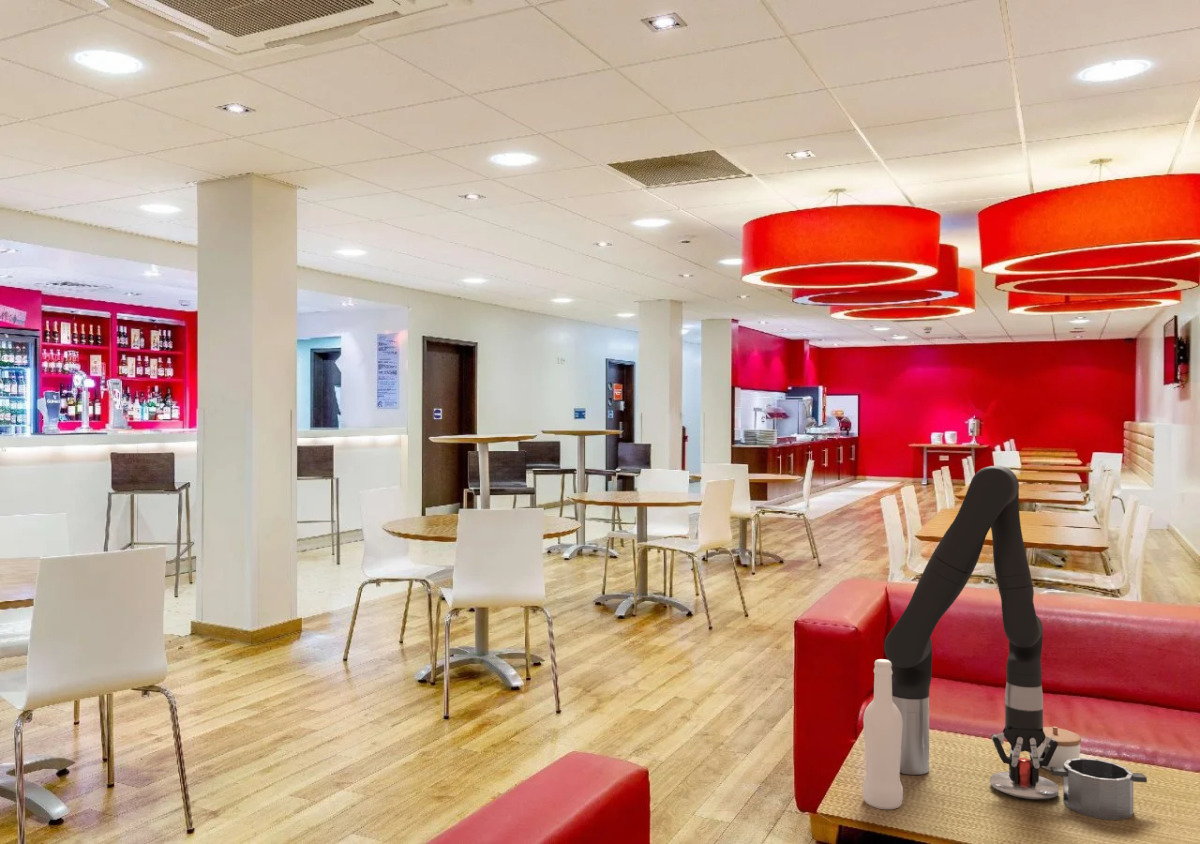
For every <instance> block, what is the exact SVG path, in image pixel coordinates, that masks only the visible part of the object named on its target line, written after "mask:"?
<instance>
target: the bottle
mask: <svg viewBox="0 0 1200 844" xmlns="http://www.w3.org/2000/svg"><path fill="white" fill-rule="evenodd" d="M873 664H874V668H873V673H874V675H873V677H874V679H873V680H874V681H873V698H872V700H871V702H870V703H869V704H868V705H867V706H866V708H865V710H864V713H863V717H862V719H863V722H862V723H863V734H864V735H863V736H864V737H863V739H864V752H865V754H864V756H865V777H864V780H863V783H862V797H863V800H864V802H865V803H866V804H867V805H869V806H870V807H872V808H875V809H879V810H895V809H897V808H900V807H901V805H902V803H903V799H904V788H903V785H902V783H901V779H900V778H901V776H900V774H901V773H900V758H901V743H902V727H903V721H902V716H901V713H900V711H899V709H898V708H897V706H896V705H895V704H894V702H893V701H892V669H891V667H892V663H891V661H889V660H888V659H883V658H879V659H876V660H875V661H874V663H873Z"/></svg>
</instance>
